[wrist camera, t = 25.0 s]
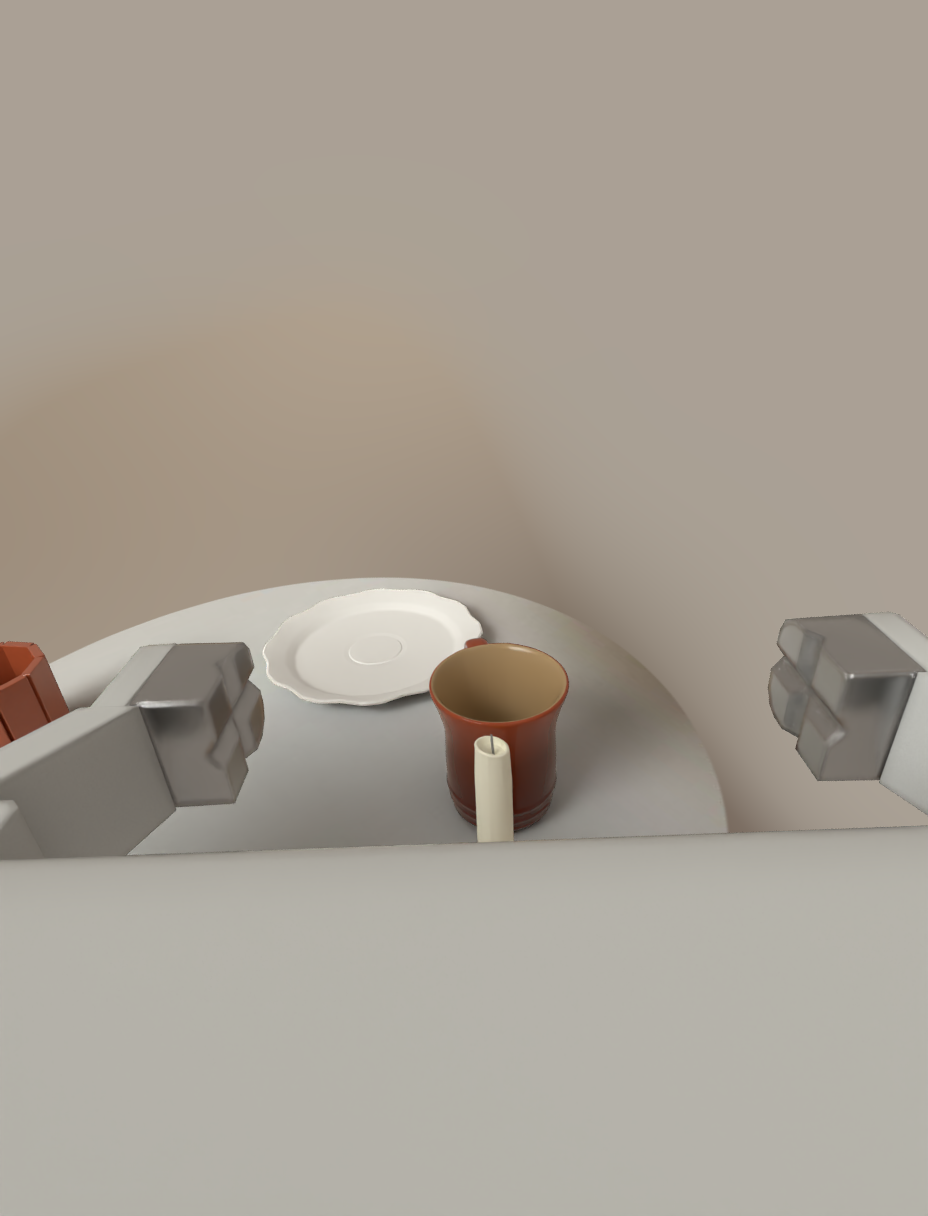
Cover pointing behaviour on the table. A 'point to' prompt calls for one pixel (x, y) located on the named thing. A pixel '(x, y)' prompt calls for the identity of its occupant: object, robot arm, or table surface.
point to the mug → (501, 720)
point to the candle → (493, 790)
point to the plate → (367, 646)
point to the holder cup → (26, 691)
